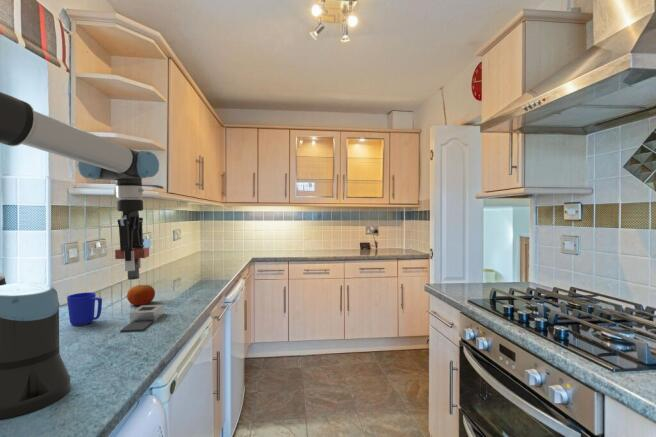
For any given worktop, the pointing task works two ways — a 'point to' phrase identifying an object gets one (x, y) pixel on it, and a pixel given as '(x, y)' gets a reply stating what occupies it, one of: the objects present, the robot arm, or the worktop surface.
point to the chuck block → (146, 313)
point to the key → (137, 254)
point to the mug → (83, 308)
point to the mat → (136, 326)
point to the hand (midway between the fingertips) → (133, 269)
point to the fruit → (141, 294)
